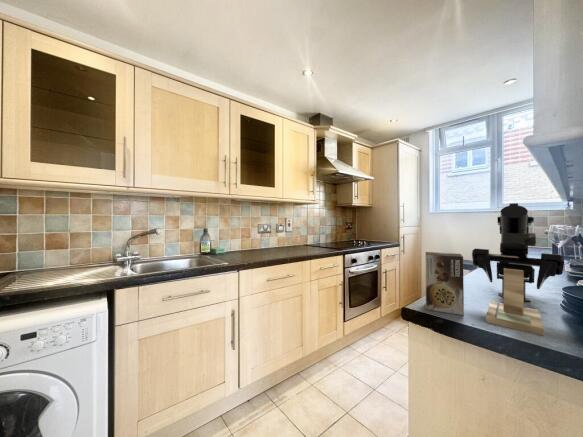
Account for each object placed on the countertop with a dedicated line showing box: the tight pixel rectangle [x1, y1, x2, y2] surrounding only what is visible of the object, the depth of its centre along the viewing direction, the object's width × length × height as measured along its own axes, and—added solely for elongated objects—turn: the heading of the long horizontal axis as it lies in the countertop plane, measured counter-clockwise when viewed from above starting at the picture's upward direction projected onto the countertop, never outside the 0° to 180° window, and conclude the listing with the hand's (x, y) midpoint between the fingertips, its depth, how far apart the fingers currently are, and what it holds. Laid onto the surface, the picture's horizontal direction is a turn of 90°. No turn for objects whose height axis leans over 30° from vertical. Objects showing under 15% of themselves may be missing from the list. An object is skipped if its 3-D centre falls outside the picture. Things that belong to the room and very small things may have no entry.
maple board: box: [485, 300, 545, 337], centre depth 61 cm, size 16×10×2 cm, turn 136°
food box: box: [425, 251, 465, 316], centre depth 68 cm, size 9×6×16 cm
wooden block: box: [503, 268, 525, 316], centre depth 63 cm, size 6×4×11 cm, turn 136°
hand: (513, 284), depth 63 cm, fingers open, 9 cm apart
